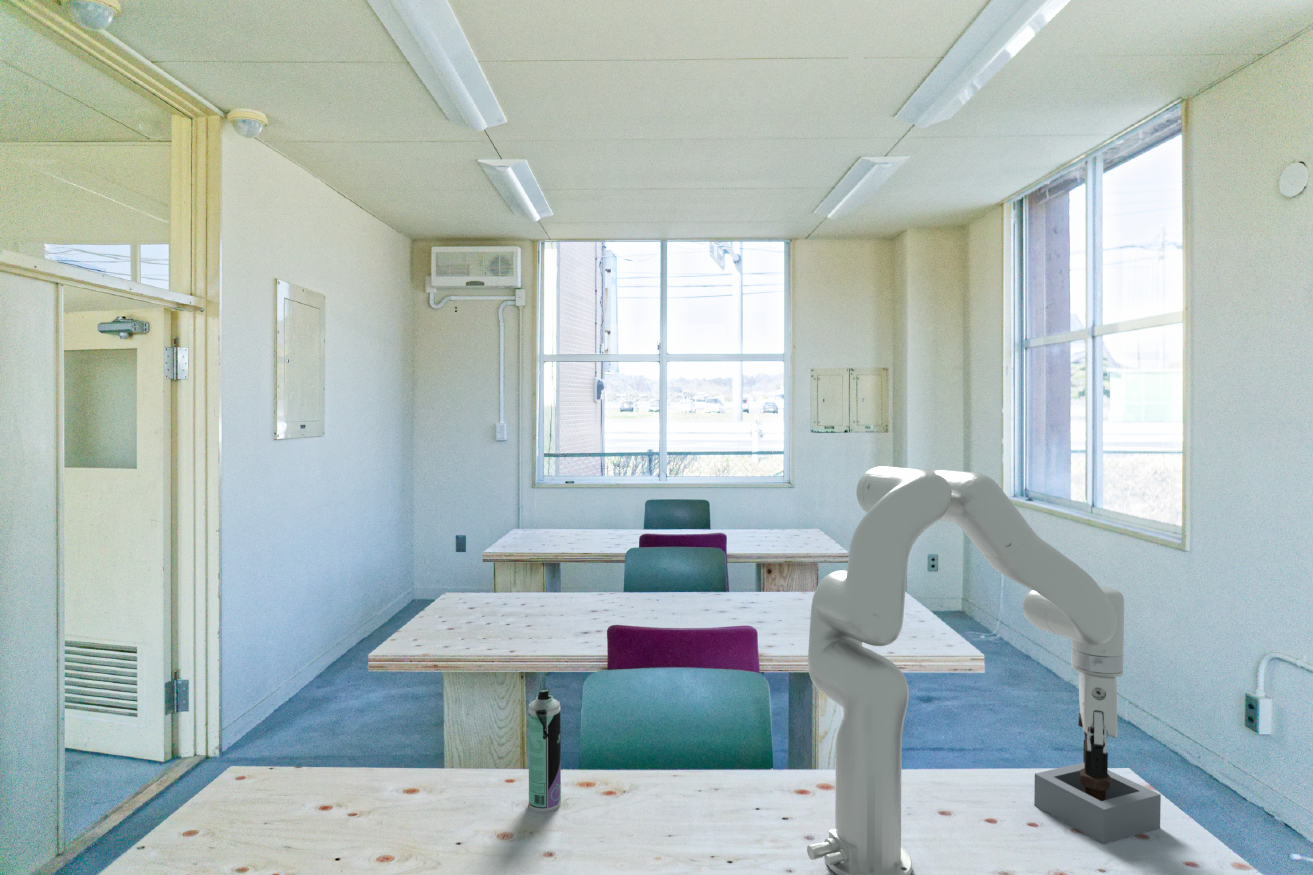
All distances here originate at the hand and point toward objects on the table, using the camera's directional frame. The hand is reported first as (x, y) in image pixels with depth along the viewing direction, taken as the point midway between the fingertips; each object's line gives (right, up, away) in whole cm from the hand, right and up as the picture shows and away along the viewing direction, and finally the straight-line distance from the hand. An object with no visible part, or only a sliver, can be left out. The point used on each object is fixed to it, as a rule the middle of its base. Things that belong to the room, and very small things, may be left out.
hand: (1095, 769), depth 127 cm
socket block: (0, -8, 0) cm, 8 cm away
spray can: (-93, -8, +4) cm, 93 cm away
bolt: (0, -6, 0) cm, 6 cm away
